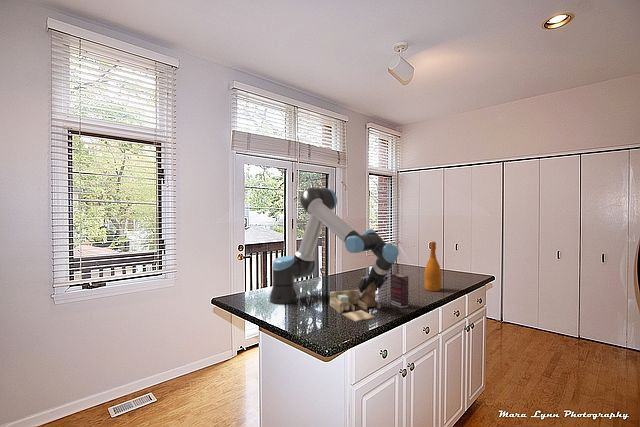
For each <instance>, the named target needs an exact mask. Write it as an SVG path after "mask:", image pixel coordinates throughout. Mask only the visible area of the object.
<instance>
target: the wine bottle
mask: <svg viewBox="0 0 640 427" xmlns="http://www.w3.org/2000/svg"><path fill="white" fill-rule="evenodd" d="M429 245H430V255H429V257H428V260H427V262H426V266H425V267H424V268H425V269H424V274H423V275H424V276H423V278H424V281H423V282H424V289H425V290H426V291H429V292H439V291H441V290H442V289H441V288H442V271H441V266H440V264H439V262H438V260H437V254H436V250H437V247H436V246H437V243H436V242H435V241H431V242H430V244H429Z"/></svg>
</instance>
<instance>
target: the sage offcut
mask: <svg viewBox="0 0 640 427" xmlns="http://www.w3.org/2000/svg"><path fill="white" fill-rule="evenodd" d="M338 300H340V301H341V302H343V303H348V296H346V295H338Z"/></svg>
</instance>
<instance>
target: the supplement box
mask: <svg viewBox="0 0 640 427" xmlns="http://www.w3.org/2000/svg"><path fill="white" fill-rule="evenodd" d="M390 304H391V305H393V306H395V307H398V308H401V309H403V308H408V307H409V275H404V274H400V273H393V274H390Z"/></svg>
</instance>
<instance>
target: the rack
mask: <svg viewBox="0 0 640 427" xmlns="http://www.w3.org/2000/svg"><path fill="white" fill-rule="evenodd" d="M359 292H360V289H351V290H349V289H347V290H337V291H330V292H329V306H330V307H331V308H333V309H334V310H335V311H336V312H337V313H339V314H342V313H344V311H343V302H341V301H340V300H338V295H346V296H348V303H349V310H351V312H354V311H355V310H356V308H355V307H356V306H355V305H357V306H359V307H360V308H362V309H363V310H364V311H365V310H366V311H367V310H368V307H367V304H365V303H364V302H362V301H361V297H360V295H359ZM374 307H376V308H378V309H381V302H379V301H378V300H375V306H374Z"/></svg>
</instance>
